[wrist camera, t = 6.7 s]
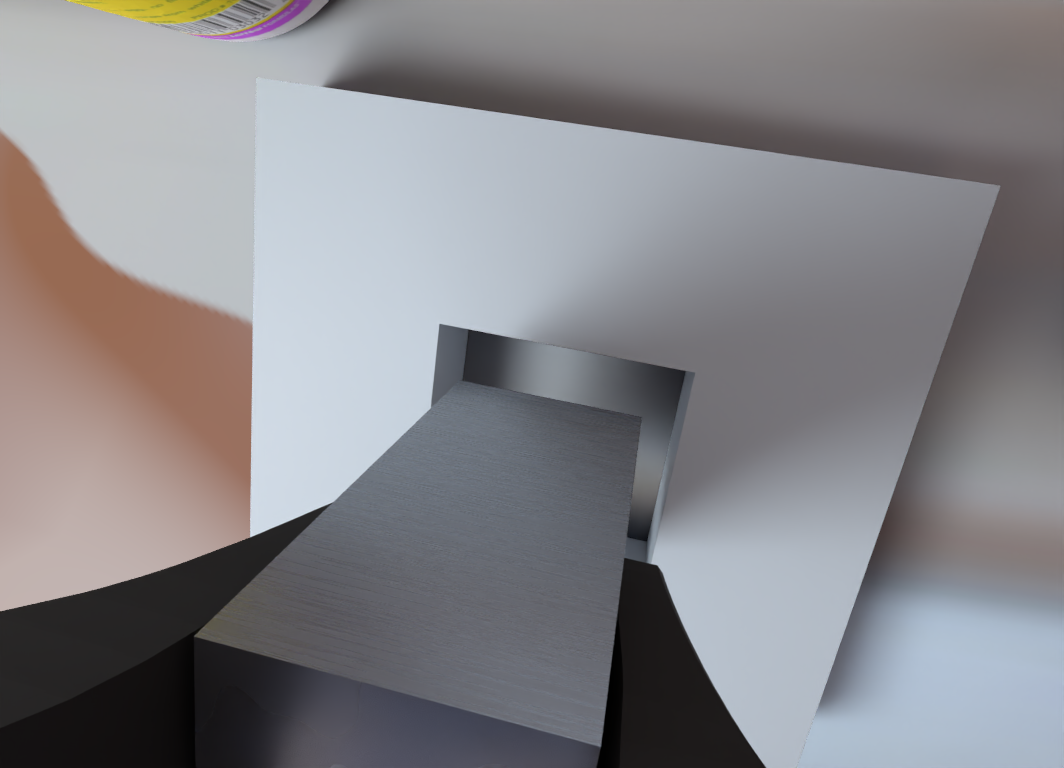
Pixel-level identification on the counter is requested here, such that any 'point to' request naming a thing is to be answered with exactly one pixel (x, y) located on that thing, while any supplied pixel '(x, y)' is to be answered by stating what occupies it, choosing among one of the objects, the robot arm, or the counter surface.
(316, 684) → the square bit
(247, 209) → the counter surface
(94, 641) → the robot arm
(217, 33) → the supplement bottle
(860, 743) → the counter surface
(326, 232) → the bore block
